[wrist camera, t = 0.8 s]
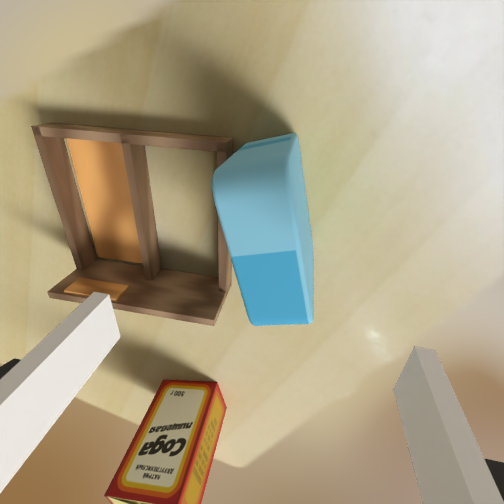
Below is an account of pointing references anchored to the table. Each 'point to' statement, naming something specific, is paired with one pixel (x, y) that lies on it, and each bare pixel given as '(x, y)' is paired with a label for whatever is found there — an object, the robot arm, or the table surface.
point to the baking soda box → (172, 446)
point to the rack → (125, 221)
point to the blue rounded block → (268, 229)
